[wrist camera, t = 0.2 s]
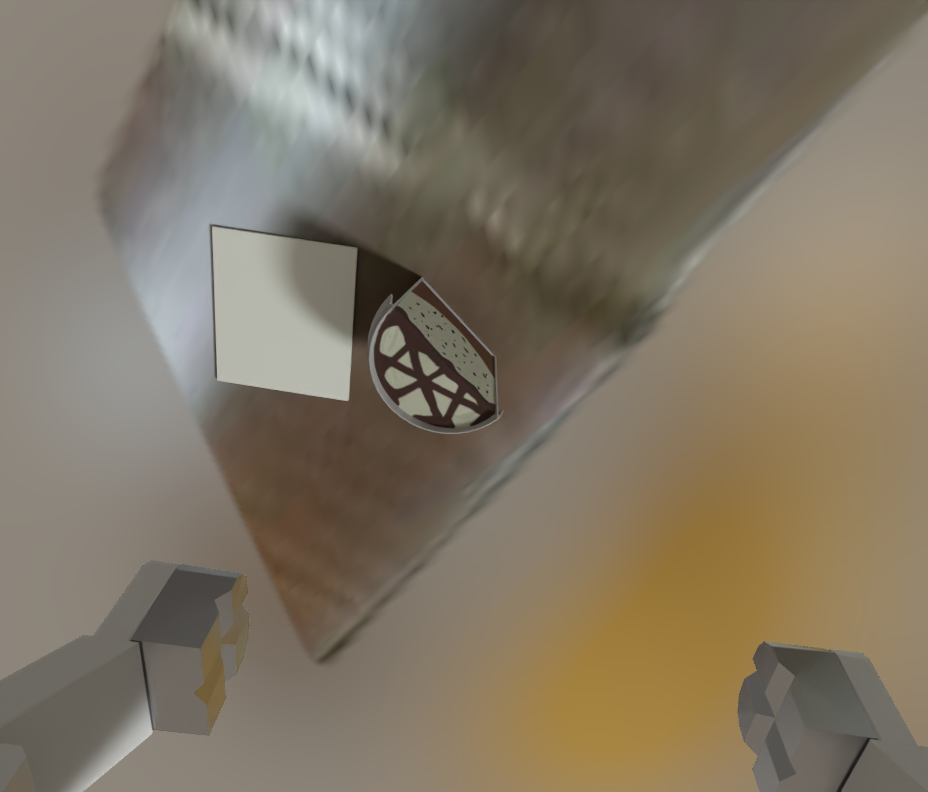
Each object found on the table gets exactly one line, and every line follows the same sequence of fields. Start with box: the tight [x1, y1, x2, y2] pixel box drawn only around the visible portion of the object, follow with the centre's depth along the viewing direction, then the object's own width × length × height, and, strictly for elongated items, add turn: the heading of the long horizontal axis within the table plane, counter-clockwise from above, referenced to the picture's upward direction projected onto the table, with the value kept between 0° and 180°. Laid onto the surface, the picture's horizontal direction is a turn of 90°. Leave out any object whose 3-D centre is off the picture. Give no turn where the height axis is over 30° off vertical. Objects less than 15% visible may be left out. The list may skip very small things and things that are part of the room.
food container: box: [367, 277, 504, 434], centre depth 56 cm, size 12×6×10 cm, turn 42°
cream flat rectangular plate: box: [212, 226, 358, 401], centre depth 61 cm, size 14×12×1 cm
